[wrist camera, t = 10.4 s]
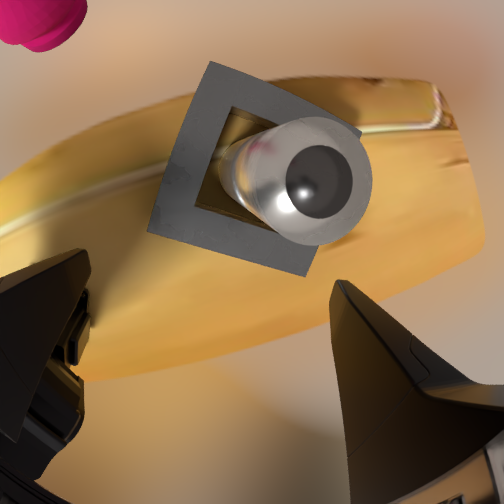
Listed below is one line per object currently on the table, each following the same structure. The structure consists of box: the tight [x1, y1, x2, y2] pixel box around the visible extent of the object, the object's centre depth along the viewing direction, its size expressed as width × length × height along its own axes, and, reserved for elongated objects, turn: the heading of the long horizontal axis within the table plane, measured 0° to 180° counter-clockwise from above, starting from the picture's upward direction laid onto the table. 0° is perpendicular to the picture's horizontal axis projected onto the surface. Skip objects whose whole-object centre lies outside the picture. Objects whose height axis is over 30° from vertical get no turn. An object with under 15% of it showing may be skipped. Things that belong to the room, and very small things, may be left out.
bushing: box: [219, 117, 372, 246], centre depth 15 cm, size 5×5×11 cm
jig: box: [147, 61, 362, 277], centre depth 19 cm, size 12×12×2 cm
